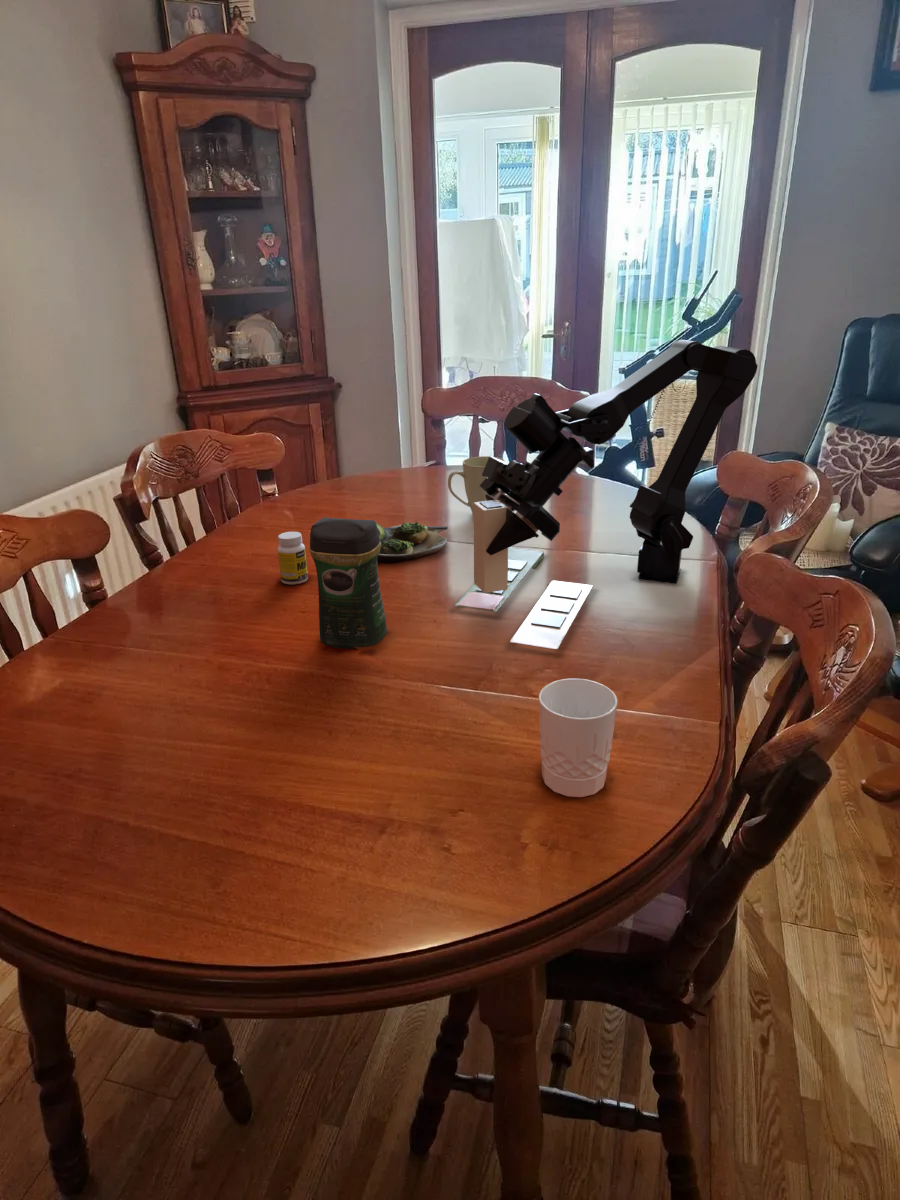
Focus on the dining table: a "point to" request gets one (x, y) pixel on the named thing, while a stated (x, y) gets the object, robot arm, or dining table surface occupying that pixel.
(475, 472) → the mug
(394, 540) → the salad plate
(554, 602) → the strip
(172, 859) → the dining table surface
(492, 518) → the cream tall square block
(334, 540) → the coffee jar
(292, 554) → the supplement bottle
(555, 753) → the white cup
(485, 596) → the strip
